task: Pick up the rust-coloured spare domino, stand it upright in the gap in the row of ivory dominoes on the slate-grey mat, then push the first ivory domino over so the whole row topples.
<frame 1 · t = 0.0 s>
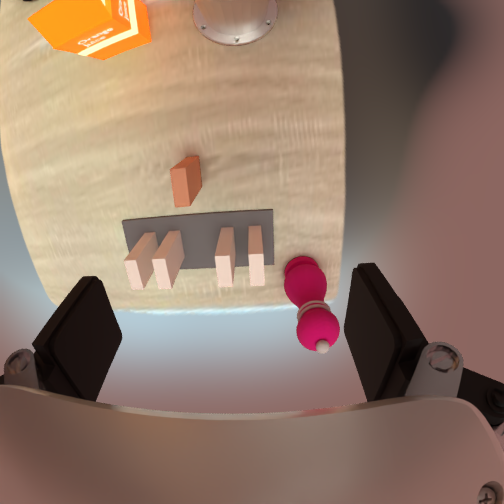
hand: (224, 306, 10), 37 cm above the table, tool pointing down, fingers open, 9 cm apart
domino 4: (228, 241, 49), point 1 cm above the table, touching mat
domino 1: (152, 245, 49), point 1 cm above the table, touching mat
domino 5: (255, 239, 49), point 1 cm above the table, touching mat
pepper mill: (301, 270, 53), on the table
spare domino: (194, 172, 44), on the table
mat: (197, 241, 49), on the table
orange juice: (124, 32, 33), on the table
domino 2: (176, 244, 49), point 1 cm above the table, touching mat
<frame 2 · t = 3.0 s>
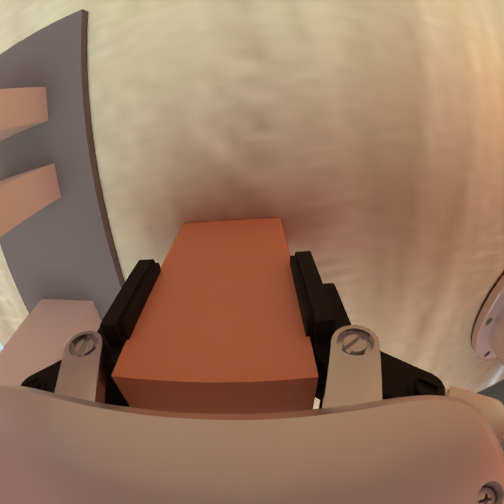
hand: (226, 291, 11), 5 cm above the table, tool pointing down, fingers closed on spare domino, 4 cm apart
domino 4: (70, 311, 17), point 1 cm above the table, touching mat
domino 1: (18, 116, 11), point 1 cm above the table, touching mat
spare domino: (233, 237, 15), on the table, touching gripper
mat: (48, 236, 15), on the table
domino 2: (29, 187, 13), point 1 cm above the table, touching mat
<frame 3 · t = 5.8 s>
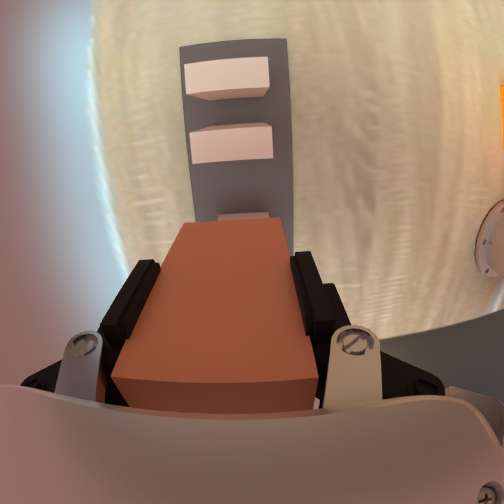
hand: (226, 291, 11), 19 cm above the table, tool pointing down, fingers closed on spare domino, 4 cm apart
domino 4: (244, 222, 30), point 1 cm above the table, touching mat
domino 1: (235, 88, 24), point 1 cm above the table, touching mat
spare domino: (232, 237, 15), point 14 cm above the table, touching gripper
mat: (240, 168, 28), on the table
domino 2: (238, 133, 26), point 1 cm above the table, touching mat
when the fingers open (6 cm above the table, at t = 8.5 s): spare domino stays where it is, resting on mat.
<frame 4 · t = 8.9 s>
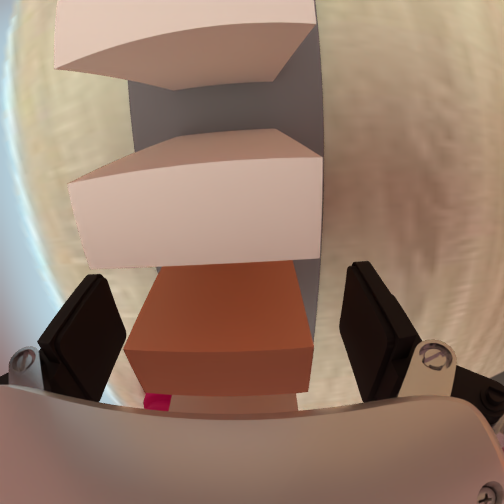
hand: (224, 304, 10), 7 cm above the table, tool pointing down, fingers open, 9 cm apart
domino 4: (239, 296, 18), point 1 cm above the table, touching mat
domino 1: (221, 66, 12), point 1 cm above the table, touching mat
pepper mill: (178, 396, 25), on the table
spare domino: (234, 230, 16), point 1 cm above the table, touching mat
mat: (232, 210, 16), on the table
domino 2: (227, 150, 14), point 1 cm above the table, touching mat
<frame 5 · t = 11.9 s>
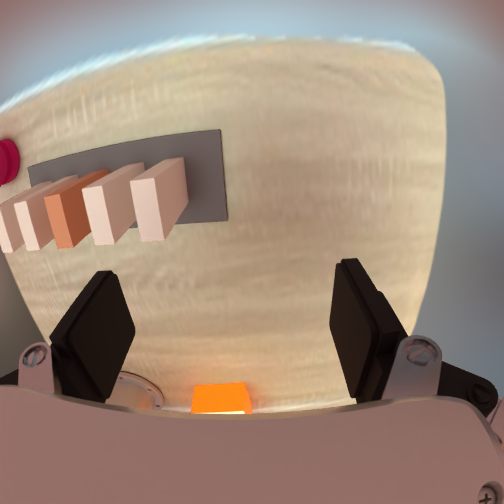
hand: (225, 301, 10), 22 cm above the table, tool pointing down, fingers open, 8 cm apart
domino 4: (75, 195, 30), point 1 cm above the table, touching mat
domino 1: (177, 180, 30), point 1 cm above the table, touching mat
domino 5: (49, 199, 30), point 1 cm above the table, touching mat
pepper mill: (7, 160, 28), on the table
spare domino: (104, 190, 30), point 1 cm above the table, touching mat
mat: (114, 187, 30), on the table
orange juice: (224, 395, 48), on the table
domino 2: (138, 185, 30), point 1 cm above the table, touching mat
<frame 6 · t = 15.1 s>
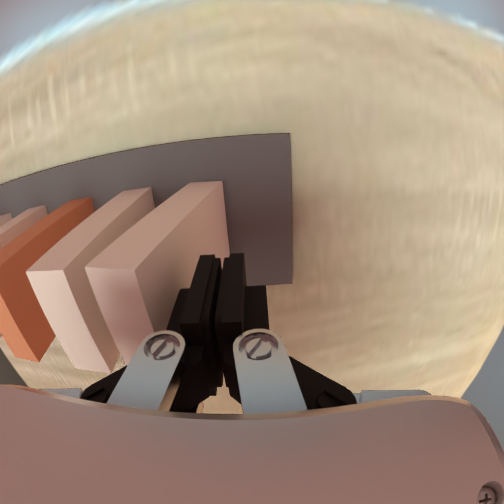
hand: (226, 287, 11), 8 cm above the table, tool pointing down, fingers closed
domino 4: (45, 236, 18), point 1 cm above the table, touching mat
domino 1: (210, 221, 18), point 1 cm above the table, tilted 9°, touching mat
spare domino: (88, 232, 18), point 1 cm above the table, touching mat
mat: (103, 226, 19), on the table
domino 2: (143, 225, 18), point 1 cm above the table, touching mat
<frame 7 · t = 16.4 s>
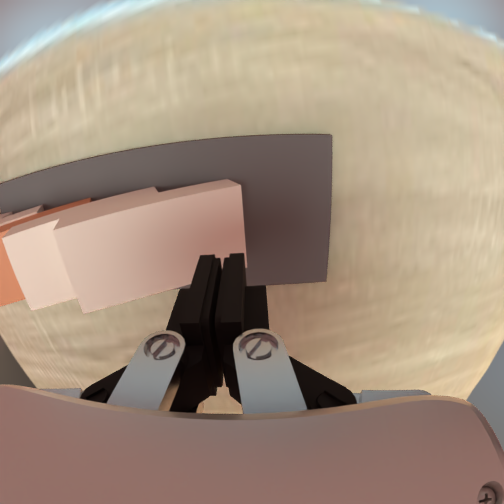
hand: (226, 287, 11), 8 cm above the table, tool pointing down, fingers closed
domino 4: (48, 239, 17), point 2 cm above the table, tilted 63°, touching domino 5, spare domino
domino 1: (237, 223, 17), point 2 cm above the table, tilted 64°, touching domino 2
spare domino: (98, 236, 17), point 1 cm above the table, tilted 63°, touching domino 2, domino 4, mat
mat: (133, 223, 19), on the table
domino 2: (163, 228, 17), point 2 cm above the table, tilted 64°, touching domino 1, mat, spare domino
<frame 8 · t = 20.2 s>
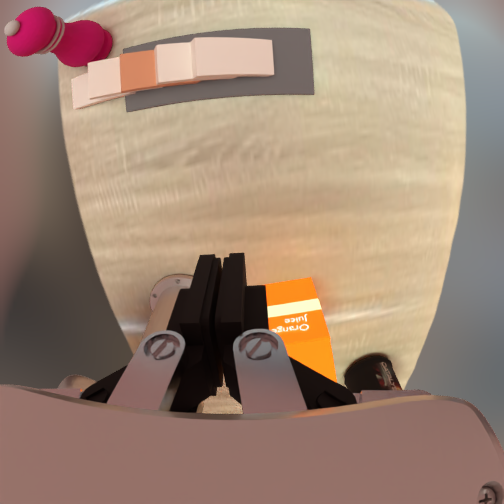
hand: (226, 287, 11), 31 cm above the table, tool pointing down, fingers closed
domino 4: (162, 69, 31), point 2 cm above the table, tilted 63°, touching domino 5, spare domino
domino 1: (269, 58, 31), point 2 cm above the table, tilted 64°, touching domino 2
domino 5: (131, 76, 31), point 2 cm above the table, tilted 94°, touching domino 4, mat
pepper mill: (95, 47, 30), on the table
spare domino: (197, 65, 31), point 1 cm above the table, tilted 63°, touching domino 2, domino 4, mat
mat: (214, 64, 33), on the table
container: (366, 367, 60), on the table
orange juice: (287, 298, 50), on the table
domino 2: (233, 60, 31), point 2 cm above the table, tilted 64°, touching domino 1, mat, spare domino
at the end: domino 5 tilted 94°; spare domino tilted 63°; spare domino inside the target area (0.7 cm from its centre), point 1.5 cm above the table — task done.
